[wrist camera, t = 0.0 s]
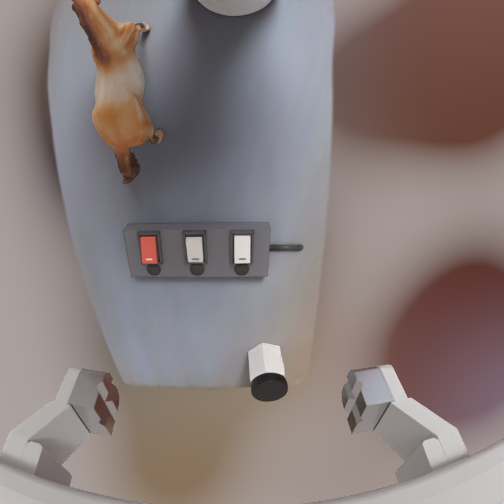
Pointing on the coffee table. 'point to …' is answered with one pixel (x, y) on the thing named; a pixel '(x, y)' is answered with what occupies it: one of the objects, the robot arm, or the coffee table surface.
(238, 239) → the grey rocker end
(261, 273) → the grey switch panel
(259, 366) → the jar
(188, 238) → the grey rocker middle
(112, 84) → the horse figurine
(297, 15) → the coffee table surface
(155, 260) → the red rocker
